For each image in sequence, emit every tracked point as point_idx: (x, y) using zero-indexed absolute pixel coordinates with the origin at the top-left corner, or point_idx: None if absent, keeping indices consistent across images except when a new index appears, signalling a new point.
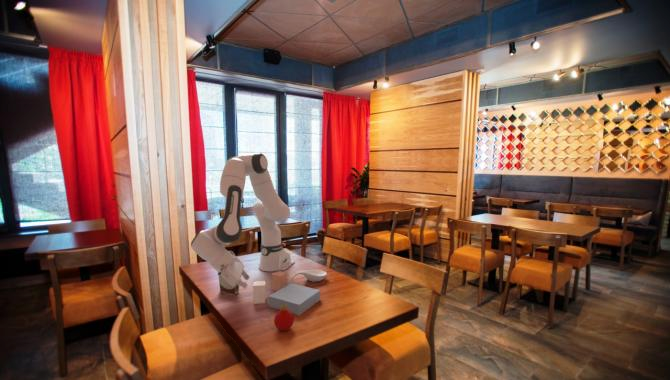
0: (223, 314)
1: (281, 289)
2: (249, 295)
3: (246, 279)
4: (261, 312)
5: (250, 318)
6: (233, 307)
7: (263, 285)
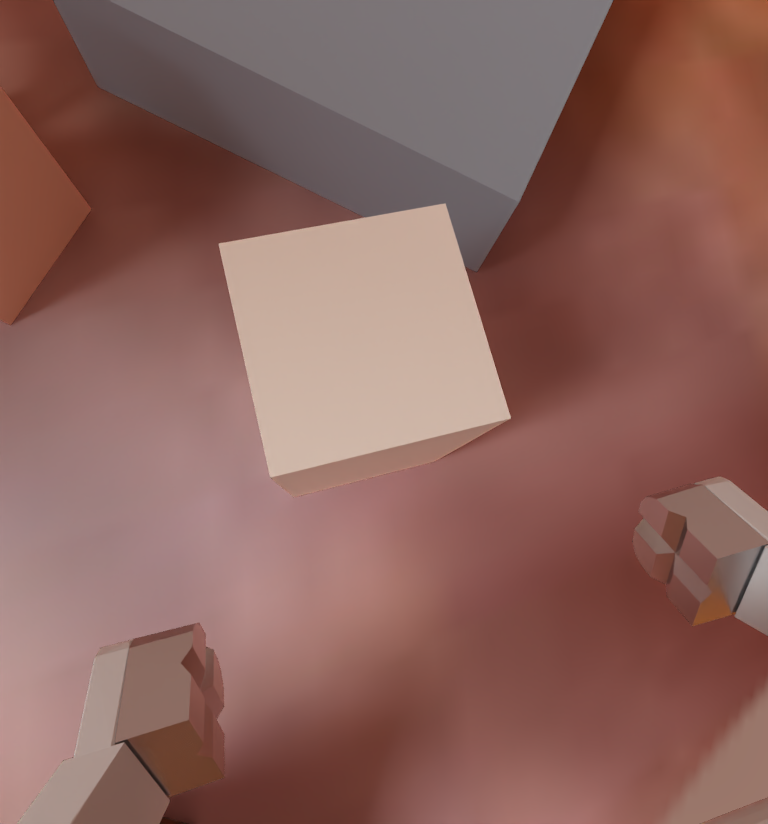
0: (731, 727)
1: (284, 70)
2: (188, 598)
3: (221, 688)
4: (614, 312)
5: (745, 387)
6: (554, 679)
7: (450, 229)
